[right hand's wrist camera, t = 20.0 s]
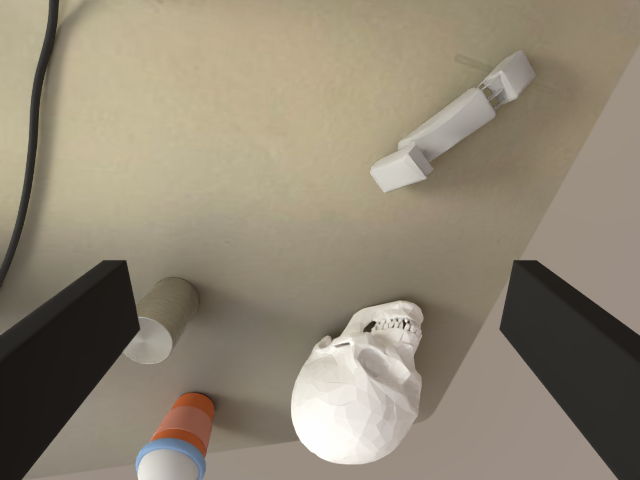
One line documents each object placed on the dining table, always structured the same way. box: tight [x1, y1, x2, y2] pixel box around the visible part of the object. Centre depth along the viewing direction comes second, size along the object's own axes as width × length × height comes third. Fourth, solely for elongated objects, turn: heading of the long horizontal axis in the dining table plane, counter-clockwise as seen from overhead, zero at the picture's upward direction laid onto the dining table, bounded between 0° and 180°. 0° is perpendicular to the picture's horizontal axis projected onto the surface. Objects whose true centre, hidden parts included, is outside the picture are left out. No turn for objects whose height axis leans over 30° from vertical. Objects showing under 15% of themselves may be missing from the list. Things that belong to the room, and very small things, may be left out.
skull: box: [291, 300, 424, 464], centre depth 46 cm, size 13×22×16 cm, turn 141°
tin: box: [123, 277, 199, 364], centre depth 46 cm, size 6×6×10 cm
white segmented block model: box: [370, 50, 536, 193], centre depth 40 cm, size 20×4×7 cm, turn 130°
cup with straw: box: [136, 393, 214, 480], centre depth 49 cm, size 9×9×18 cm
